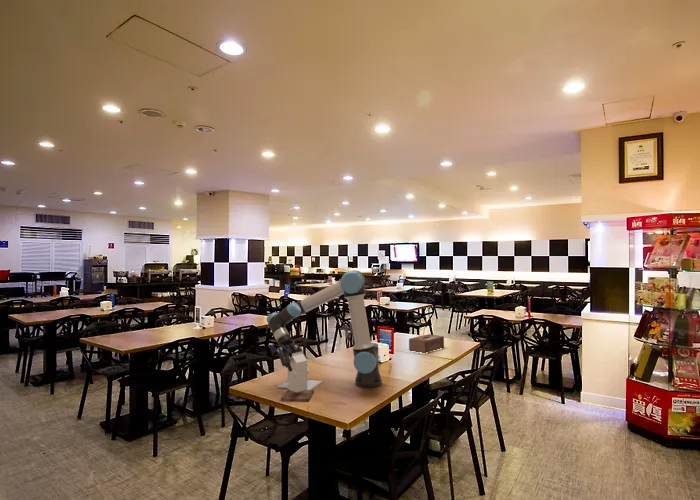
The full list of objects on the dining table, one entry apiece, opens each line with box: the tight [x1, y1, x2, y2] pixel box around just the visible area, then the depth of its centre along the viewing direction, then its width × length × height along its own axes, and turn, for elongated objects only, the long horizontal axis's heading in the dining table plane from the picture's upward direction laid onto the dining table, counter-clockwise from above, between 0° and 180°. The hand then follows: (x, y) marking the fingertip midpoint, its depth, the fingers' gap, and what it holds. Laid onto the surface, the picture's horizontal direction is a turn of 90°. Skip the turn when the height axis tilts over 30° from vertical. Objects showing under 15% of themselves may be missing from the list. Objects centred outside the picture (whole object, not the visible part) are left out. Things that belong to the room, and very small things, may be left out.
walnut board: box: [280, 389, 315, 403], centre depth 203 cm, size 14×14×2 cm
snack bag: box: [276, 378, 324, 390], centre depth 222 cm, size 19×20×2 cm
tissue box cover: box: [408, 333, 445, 353], centre depth 307 cm, size 26×14×10 cm, turn 134°
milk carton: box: [287, 350, 308, 393], centre depth 203 cm, size 7×7×19 cm
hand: (301, 374), depth 201 cm, fingers closed on milk carton, 7 cm apart
